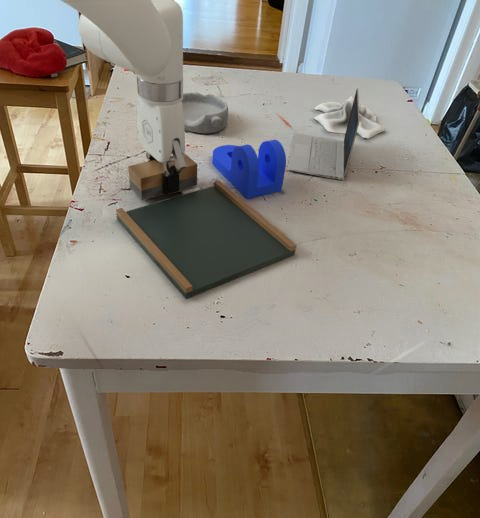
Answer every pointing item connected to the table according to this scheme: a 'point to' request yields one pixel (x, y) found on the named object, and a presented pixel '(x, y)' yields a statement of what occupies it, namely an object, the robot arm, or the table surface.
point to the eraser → (158, 177)
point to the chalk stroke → (183, 189)
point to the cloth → (347, 118)
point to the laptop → (325, 150)
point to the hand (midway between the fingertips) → (163, 184)
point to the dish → (204, 112)
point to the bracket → (252, 167)
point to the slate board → (205, 238)
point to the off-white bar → (189, 191)
